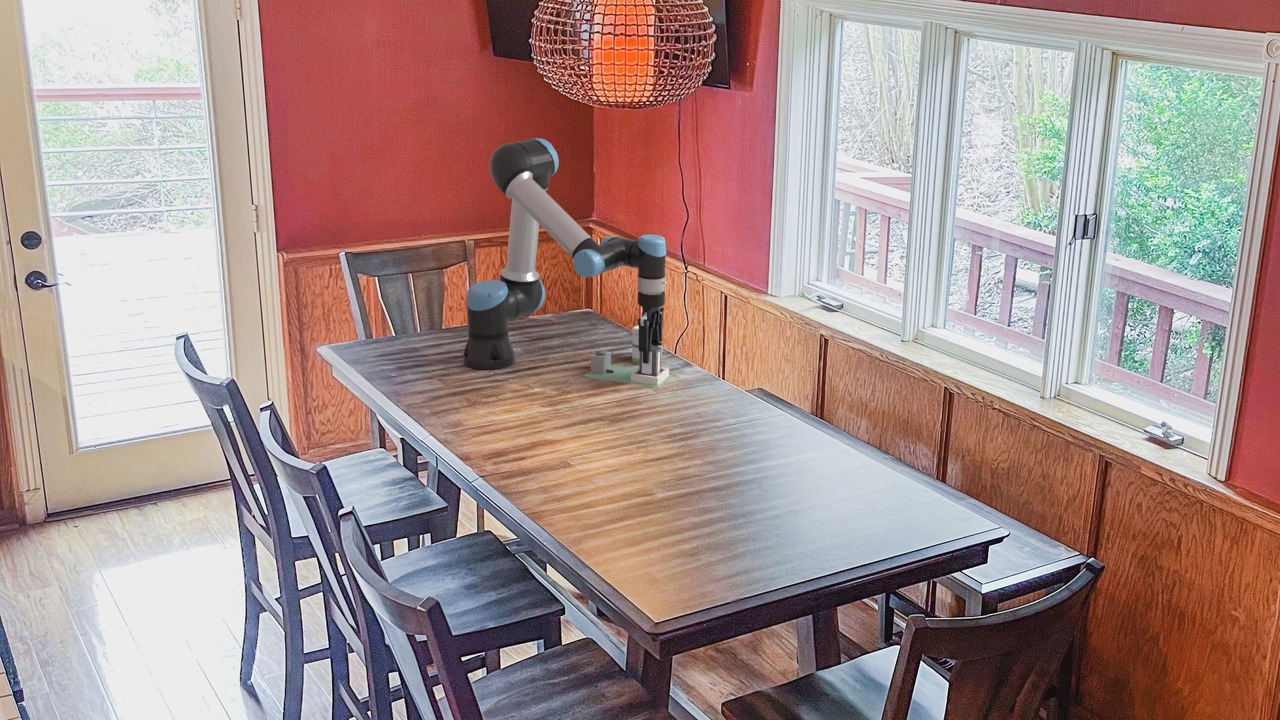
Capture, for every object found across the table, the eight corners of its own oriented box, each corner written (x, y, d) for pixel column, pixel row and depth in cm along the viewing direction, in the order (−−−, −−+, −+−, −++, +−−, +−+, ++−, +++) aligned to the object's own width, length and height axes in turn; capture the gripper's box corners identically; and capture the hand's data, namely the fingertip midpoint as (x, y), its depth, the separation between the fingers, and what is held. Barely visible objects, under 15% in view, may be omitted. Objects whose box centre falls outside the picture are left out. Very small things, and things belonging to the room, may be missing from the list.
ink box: (644, 369, 364) (644, 330, 360) (631, 365, 367) (631, 327, 363) (662, 362, 370) (663, 324, 366) (649, 358, 373) (650, 320, 369)
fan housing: (590, 371, 358) (590, 353, 356) (598, 366, 362) (598, 348, 360) (610, 375, 355) (610, 356, 354) (617, 369, 360) (617, 351, 358)
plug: (639, 378, 352) (639, 348, 349) (644, 374, 356) (645, 344, 353) (655, 381, 350) (656, 350, 347) (661, 376, 354) (661, 346, 351)
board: (583, 380, 355) (583, 376, 354) (601, 367, 365) (601, 363, 365) (658, 392, 346) (658, 388, 346) (674, 378, 357) (674, 374, 356)
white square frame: (630, 381, 351) (630, 374, 350) (643, 371, 359) (643, 364, 358) (657, 385, 348) (657, 378, 347) (669, 375, 356) (669, 368, 355)
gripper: (652, 300, 336) (650, 382, 343) (675, 284, 351) (673, 363, 358) (626, 297, 338) (625, 378, 346) (650, 281, 353) (649, 359, 361)
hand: (650, 370), depth 352 cm, fingers open, 4 cm apart
